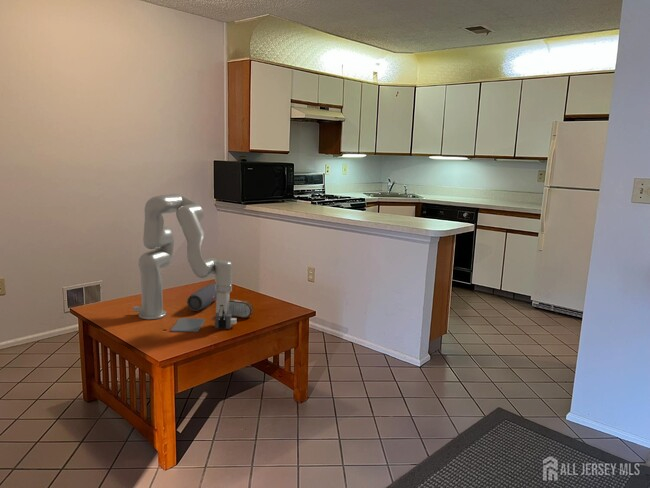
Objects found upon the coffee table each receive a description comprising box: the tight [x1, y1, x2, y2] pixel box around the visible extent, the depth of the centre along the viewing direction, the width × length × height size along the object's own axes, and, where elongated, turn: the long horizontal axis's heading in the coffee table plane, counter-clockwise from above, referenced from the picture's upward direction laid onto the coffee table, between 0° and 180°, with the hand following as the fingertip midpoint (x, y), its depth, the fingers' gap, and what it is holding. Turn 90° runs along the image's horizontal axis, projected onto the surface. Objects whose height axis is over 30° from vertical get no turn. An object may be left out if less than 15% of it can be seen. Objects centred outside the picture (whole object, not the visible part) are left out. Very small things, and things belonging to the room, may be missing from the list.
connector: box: [214, 312, 238, 330], centre depth 221 cm, size 9×4×6 cm, turn 93°
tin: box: [228, 298, 254, 319], centre depth 236 cm, size 15×3×8 cm, turn 74°
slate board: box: [170, 317, 206, 333], centre depth 221 cm, size 12×16×1 cm
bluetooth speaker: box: [186, 283, 217, 312], centre depth 249 cm, size 23×9×10 cm, turn 168°
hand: (223, 325), depth 222 cm, fingers open, 5 cm apart
